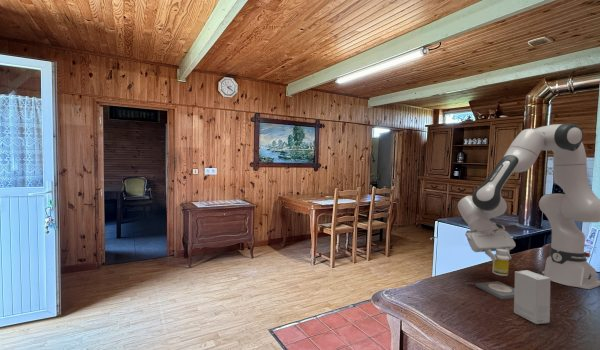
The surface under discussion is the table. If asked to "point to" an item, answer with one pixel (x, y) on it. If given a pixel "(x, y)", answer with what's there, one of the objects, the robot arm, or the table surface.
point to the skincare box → (532, 296)
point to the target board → (497, 289)
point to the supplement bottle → (501, 263)
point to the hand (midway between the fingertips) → (502, 259)
